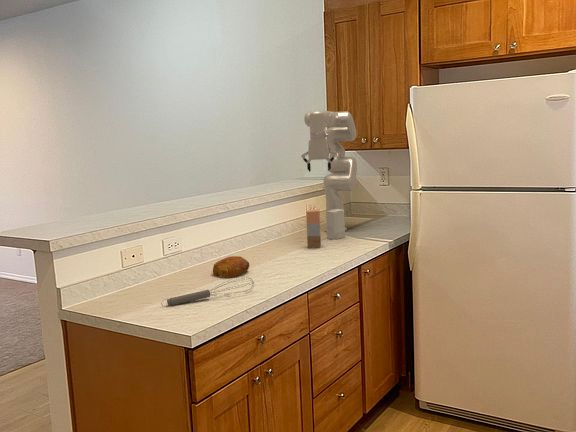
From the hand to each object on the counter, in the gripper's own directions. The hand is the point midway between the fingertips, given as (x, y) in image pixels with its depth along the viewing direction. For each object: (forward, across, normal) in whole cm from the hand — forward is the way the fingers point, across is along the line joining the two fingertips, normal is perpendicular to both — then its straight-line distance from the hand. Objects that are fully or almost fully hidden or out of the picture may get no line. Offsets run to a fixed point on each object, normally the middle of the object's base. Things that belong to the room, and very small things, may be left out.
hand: (319, 171), depth 290 cm
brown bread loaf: (+35, +34, +64) cm, 80 cm away
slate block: (+30, +3, +15) cm, 33 cm away
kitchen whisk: (+34, +34, +99) cm, 110 cm away
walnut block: (+36, +3, +15) cm, 39 cm away
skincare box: (+36, -7, -6) cm, 37 cm away
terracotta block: (+24, +3, +15) cm, 28 cm away
